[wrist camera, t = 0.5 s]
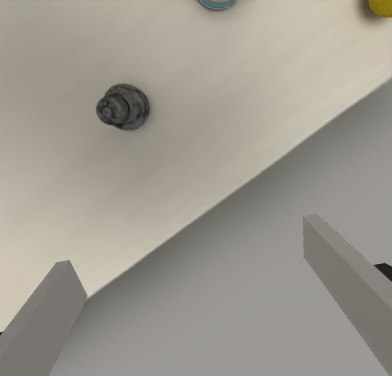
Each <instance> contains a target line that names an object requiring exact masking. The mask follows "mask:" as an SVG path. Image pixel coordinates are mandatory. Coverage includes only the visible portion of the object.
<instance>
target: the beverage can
mask: <svg viewBox="0 0 392 376" xmlns="http://www.w3.org/2000/svg"><path fill="white" fill-rule="evenodd" d="M199 1H200V2H201V3H202V4H203V5H205V6H206V7H208V8H211V9H215V10H220V9H225V8H227V7H229V6H231V5H233V4H234V3H235V2H236V1H237V0H199Z"/></svg>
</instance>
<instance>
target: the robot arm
mask: <svg viewBox="0 0 392 376" xmlns="http://www.w3.org/2000/svg"><path fill="white" fill-rule="evenodd" d="M303 239H304V240H303V244H304V258H305V259H306V261H307V262H308V263H309V265H310V266H311V268H312V269H313V270H314V272H315V273H316V274H317V276H318V277H319V279H320V280H321V282H322V283H323V284H324V286H325V287H326V288H327V290H328V291H329V293H330V294H331V295H332V297H333V298H334V299H335V301H336V302H337V304H338V305H339V306H340V308H341V309H342V311H343V312H344V313H345V315H346V316H347V318H348V319H349V320H350V322H351V323H352V324H353V326H354V327H355V328H356V330H357V331H358V333H359V334H360V336H361V337H362V338H363V340H364V341H365V343H366V344H367V345H368V347H369V348H370V349H371V351H372V352H373V354H374V355H375V356H376V357H377V359H378V361H379V362H380V363H381V365H382V366H383V367H384V369H385V370H386V372H387V373H388V374H389V376H392V266H389V265H388V264H386V263H383V264H377V265H373V264H371V263H370V262H369V261H368V260H367V259H366V258H365V257H364V256H363V255H362V254H361V253H359V252H358V251H357V250H356V249H355V248H354V247H353V246H352V245H351V244H350V243H348V242H347V241H346V240H345V239H344V238H343V237H342V236H341V235H340V234H339V233H338V232H337V231H335V230H334V229H333V228H332V227H331V226H330V225H329V224H328V223H327V222H326V221H324V220H323V219H322V218H321V217H320V216H319V215H318V214H313V215H308V216H303ZM86 298H87V294H86V292H85V290H84V288H83V286H82V284H81V282H80V280H79V278H78V276H77V274H76V272H75V270H74V268H73V266H72V264H71V262H70V260H67V261H62V262H57V263H56V264H55V265H54V266H53V268H52V269H51V270H50V272H49V273H48V274H47V275H46V277H45V278H44V279H43V281H42V282H41V283H40V285H39V286H38V287H37V288H36V290H35V291H34V292H33V294H32V295H31V296H30V298H29V299H28V300H27V301H26V303H25V304H24V305H23V307H22V308H21V309H20V311H19V312H18V313H17V315H16V316H15V317H14V318H13V320H12V321H11V322H10V324H9V325H8V326H7V328H6V329H5V330H4V331H3V332H0V376H49V374H50V372H51V370H52V368H53V366H54V364H55V362H56V360H57V358H58V355H59V354H60V352H61V350H62V347H63V345H64V343H65V341H66V339H67V337H68V335H69V333H70V331H71V329H72V327H73V324H74V322H75V321H76V319H77V317H78V315H79V313H80V311H81V308H82V306H83V304H84V302H85V300H86Z"/></svg>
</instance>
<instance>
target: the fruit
mask: <svg viewBox="0 0 392 376" xmlns="http://www.w3.org/2000/svg"><path fill="white" fill-rule="evenodd" d="M368 2H369V6H370V8H371V10H372V11H373V12H374V13H375V14H377V15H379V16H381V17H392V0H368Z"/></svg>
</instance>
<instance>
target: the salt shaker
mask: <svg viewBox="0 0 392 376" xmlns="http://www.w3.org/2000/svg"><path fill="white" fill-rule="evenodd" d="M96 112H97V115H98V117H99V119H100V120H101V121H102V122H103V123H105V124H108V125H113V126H114V127H116V128H118V129H121V130H125V131H128V130H134V129H137V128H138V127H140V126H141V125H142V124H143V123H144V122H145V119H146V118H147V116H148V114H149V102H148V100H147V98H146V96H145V95H144V94H143V93H142V92H141V91H140V90H138V89H137V88H135V87H133V86H131V85H128V84H118V85H115V86H113V87H111V88H110V89H109V90H108V91H107V92H106V94H105V96H104V98H102V99H101V100H100V101H99V102H98V104H97V106H96Z"/></svg>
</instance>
